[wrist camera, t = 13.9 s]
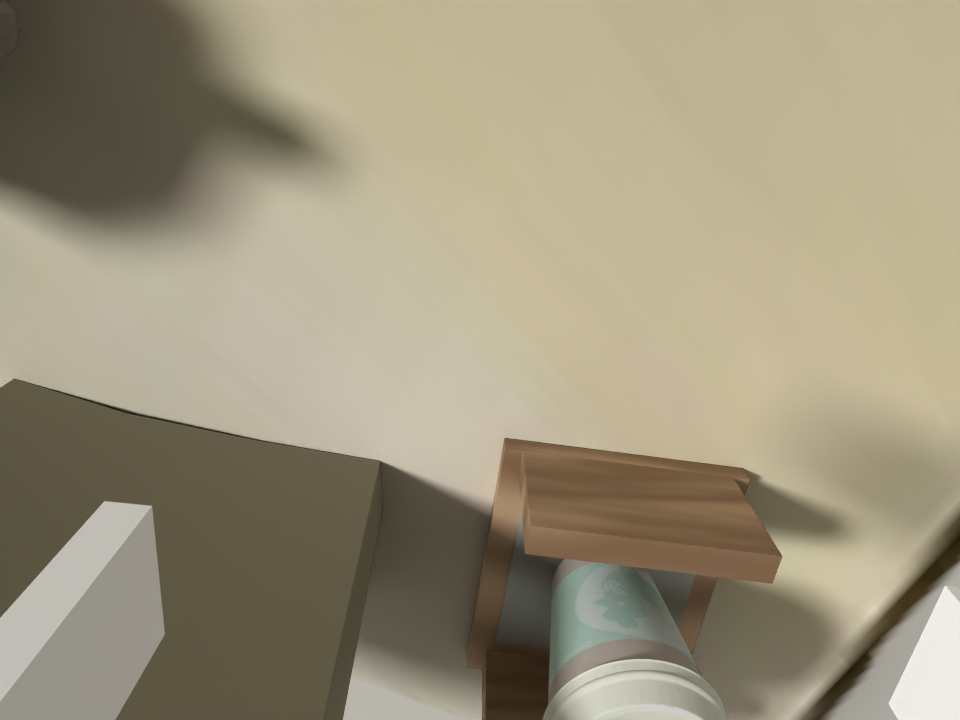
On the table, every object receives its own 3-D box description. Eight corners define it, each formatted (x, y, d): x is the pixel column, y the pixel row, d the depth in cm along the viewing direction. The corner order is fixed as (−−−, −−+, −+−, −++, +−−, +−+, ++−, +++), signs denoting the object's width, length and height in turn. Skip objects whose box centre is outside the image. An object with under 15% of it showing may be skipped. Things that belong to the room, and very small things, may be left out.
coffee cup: (701, 573, 41) (781, 756, 30) (605, 659, 44) (646, 857, 32) (593, 497, 39) (636, 663, 28) (500, 592, 42) (505, 778, 31)
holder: (504, 438, 39) (509, 522, 32) (742, 468, 40) (803, 558, 32) (467, 652, 45) (463, 767, 38) (674, 676, 46) (712, 794, 38)
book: (394, 458, 41) (270, 1127, 15) (364, 581, 44) (222, 1301, 18) (14, 378, 38) (-930, 1010, 12) (14, 515, 42) (-726, 1235, 16)
